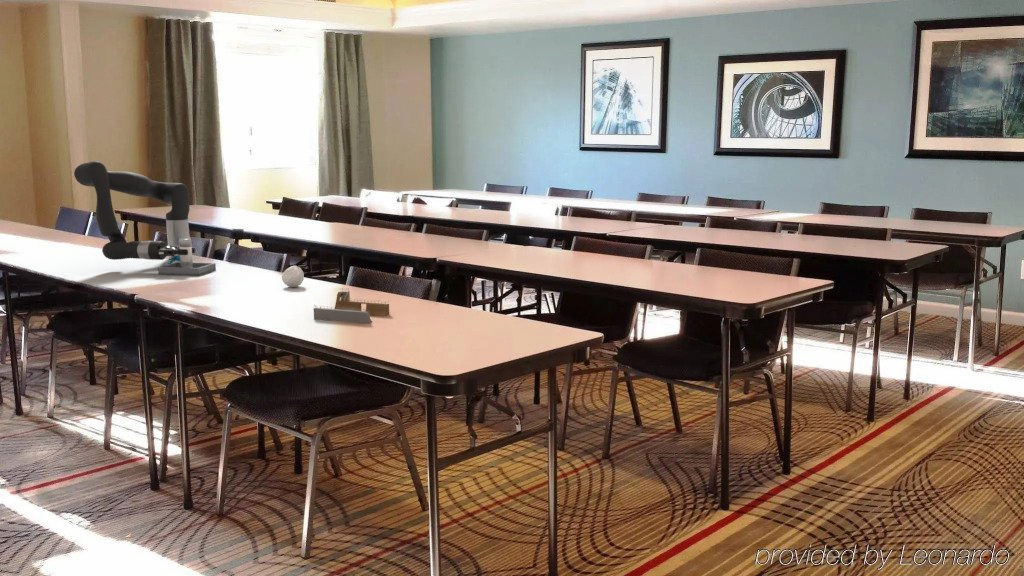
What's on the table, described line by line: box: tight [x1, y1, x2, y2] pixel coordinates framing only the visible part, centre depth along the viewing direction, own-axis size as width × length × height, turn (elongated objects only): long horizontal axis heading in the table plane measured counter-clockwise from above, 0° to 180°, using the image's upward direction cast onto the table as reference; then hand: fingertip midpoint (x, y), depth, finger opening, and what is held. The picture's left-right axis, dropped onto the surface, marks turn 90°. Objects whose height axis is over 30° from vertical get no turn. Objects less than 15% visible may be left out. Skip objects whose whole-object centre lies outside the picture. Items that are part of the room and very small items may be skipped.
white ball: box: [281, 265, 305, 288], centre depth 344 cm, size 8×8×8 cm
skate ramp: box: [313, 287, 390, 325], centre depth 297 cm, size 29×35×8 cm
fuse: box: [179, 237, 194, 268], centre depth 377 cm, size 5×5×12 cm
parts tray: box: [157, 261, 217, 277], centre depth 378 cm, size 14×18×3 cm
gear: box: [166, 255, 180, 265], centre depth 396 cm, size 11×6×10 cm
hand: (190, 251), depth 376 cm, fingers open, 5 cm apart
